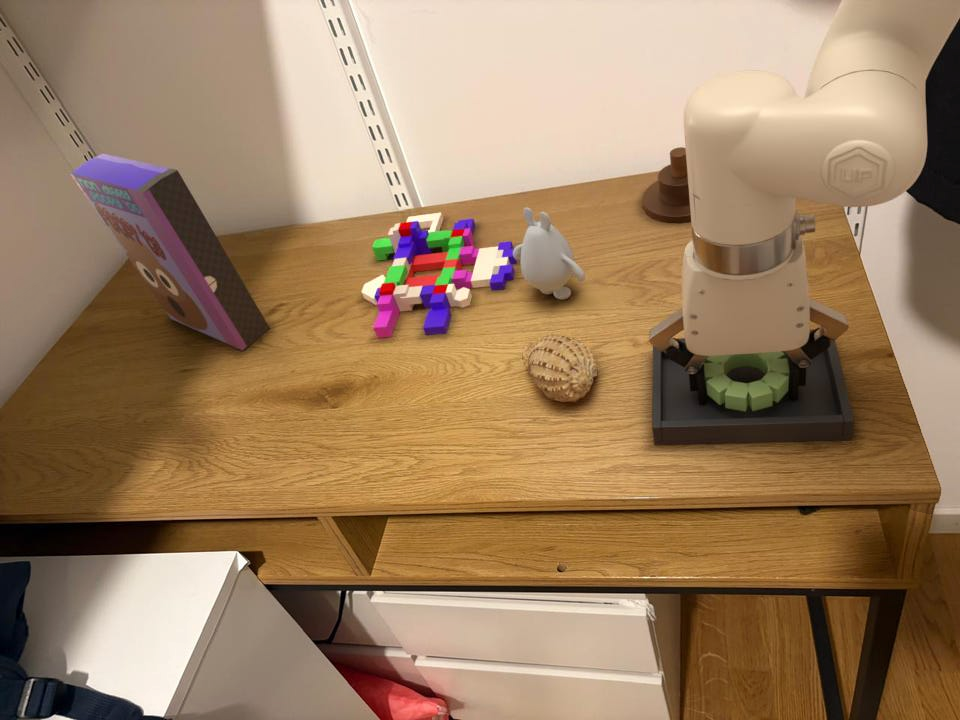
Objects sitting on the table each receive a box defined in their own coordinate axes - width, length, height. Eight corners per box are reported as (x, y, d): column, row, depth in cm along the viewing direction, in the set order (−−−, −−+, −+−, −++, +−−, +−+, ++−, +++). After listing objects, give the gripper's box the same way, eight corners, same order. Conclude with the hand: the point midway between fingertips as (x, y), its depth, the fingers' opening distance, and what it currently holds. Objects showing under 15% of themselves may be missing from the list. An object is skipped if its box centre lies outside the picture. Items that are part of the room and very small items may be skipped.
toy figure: (606, 291, 86) (591, 204, 78) (574, 323, 84) (555, 236, 76) (537, 268, 93) (517, 185, 85) (505, 297, 90) (481, 214, 82)
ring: (784, 350, 70) (784, 336, 69) (793, 409, 65) (794, 395, 64) (702, 355, 73) (701, 342, 71) (706, 413, 67) (705, 400, 66)
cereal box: (171, 319, 106) (68, 172, 90) (197, 299, 108) (101, 151, 92) (243, 351, 96) (141, 191, 80) (269, 328, 98) (176, 168, 82)
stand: (721, 174, 98) (719, 125, 93) (725, 217, 91) (724, 167, 86) (643, 184, 101) (638, 137, 96) (642, 227, 94) (636, 178, 89)
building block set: (502, 328, 86) (493, 299, 83) (343, 341, 92) (329, 314, 89) (527, 208, 104) (520, 180, 101) (391, 225, 109) (381, 199, 106)
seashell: (520, 409, 80) (582, 414, 72) (491, 366, 78) (551, 365, 70) (563, 364, 83) (627, 363, 75) (536, 322, 81) (598, 316, 73)
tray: (830, 347, 72) (832, 328, 70) (851, 440, 64) (854, 421, 62) (655, 357, 77) (652, 339, 75) (654, 445, 69) (651, 427, 67)
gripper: (856, 196, 58) (840, 357, 70) (631, 222, 63) (652, 368, 75) (875, 253, 53) (855, 417, 65) (628, 277, 58) (651, 424, 70)
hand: (746, 390), depth 70 cm, fingers closed on ring, 7 cm apart
